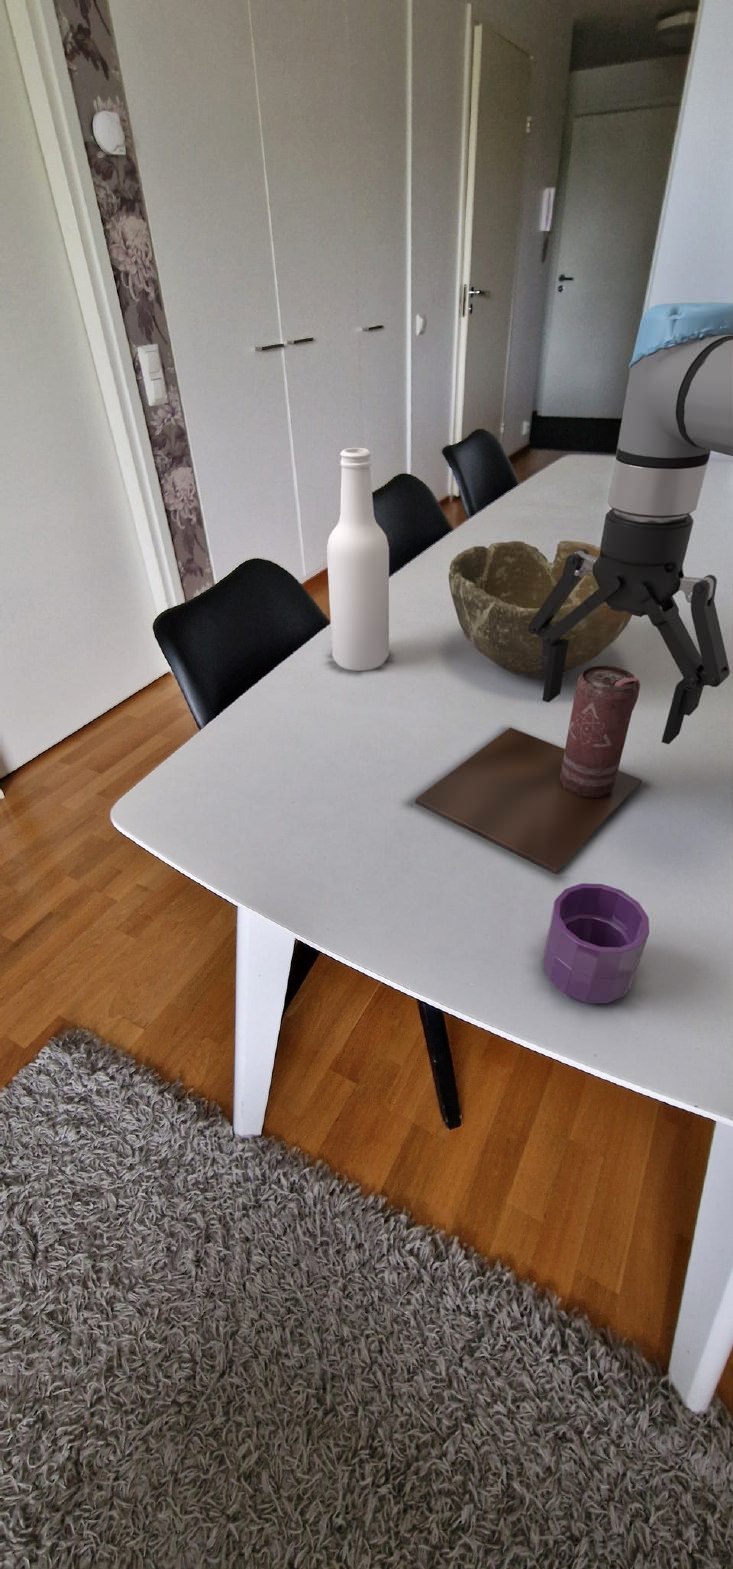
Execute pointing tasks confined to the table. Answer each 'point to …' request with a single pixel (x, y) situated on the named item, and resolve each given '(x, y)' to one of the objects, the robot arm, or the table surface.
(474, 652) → the table surface
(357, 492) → the alcohol
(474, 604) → the bowl
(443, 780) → the placemat
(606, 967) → the purple faceted cup
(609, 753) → the can
